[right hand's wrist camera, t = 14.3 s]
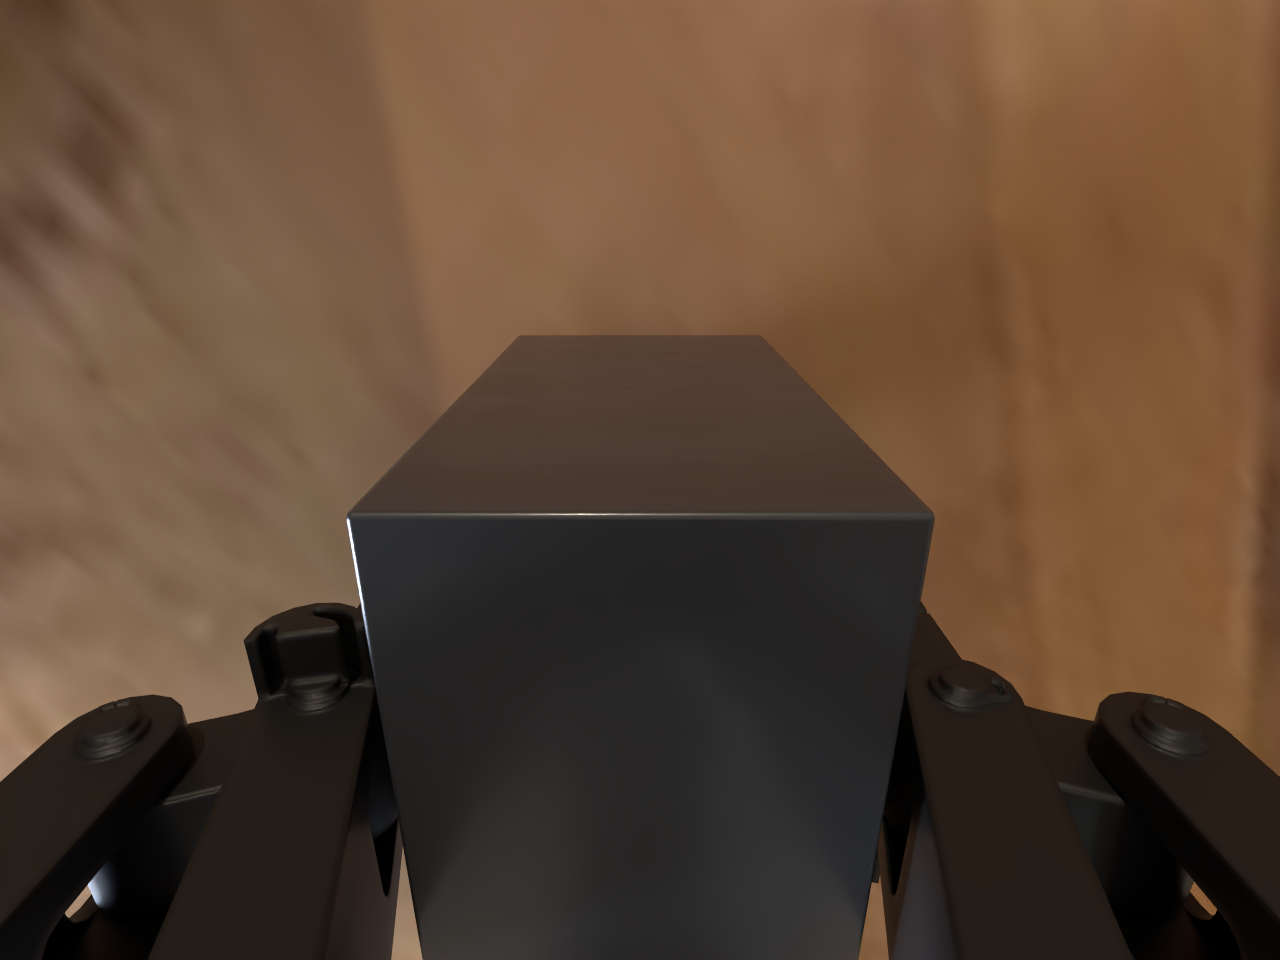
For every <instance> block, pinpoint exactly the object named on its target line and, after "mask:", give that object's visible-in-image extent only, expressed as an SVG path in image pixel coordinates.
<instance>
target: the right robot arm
mask: <svg viewBox="0 0 1280 960" xmlns="http://www.w3.org/2000/svg"><path fill="white" fill-rule="evenodd" d="M244 644H245V647H246V651H247V655H248V659H249V663H250V667H251V671H252V675H253V679H254V683H255V686H256V690H257V694H258V698H259V699H258V702H257V704H256V706H255V709H252V710H249V711H245V712H242V713H238V714H233V715H228V716H224V717H219V718H214V719H209V720H205V721H200V722H195V723H190V724H187V721H186V718H185V715H184V712H183V708H182V706H181V705H180V704H179V703H178V702H176V701H175V700H174V699H173V698H171V697H165V696H158V695H146V696H137V697H129V698H125V699H121V700H118V701H116V702H114V701H113V702H110V703H107V704H105V705H102V706H100V707H98V708H96V709H94V710H92V711H90V712H88V713H86V714H84V715H82V716H80V717H78V718H76V719H75V720H73V721H72V722H70V723H69V724H68V725H66V726H65V727H63V728H62V729H61V730H59V731H58V732H56V733H55V734H54V735H53V736H52V737H50V738H49V739H48V740H47V741H46V742H45V743H44V744H43V745H41V746H40V747H39V748H38V749H37V750H36V751H35V752H34V753H32V754H31V755H30V756H29V757H28V758H27V759H26V760H25V761H23V762H22V763H21V764H20V765H19V766H18V767H17V768H16V769H14V770H13V771H12V772H11V773H10V774H9V775H8V776H7V777H5V778H4V779H3V780H2V781H1V782H0V960H391V955H392V945H393V936H394V926H395V916H396V906H397V897H398V887H399V877H400V867H401V858H402V848H403V843H402V837H401V831H400V826H399V820H398V814H397V808H396V803H395V797H394V791H393V785H392V779H391V774H390V768H389V762H388V756H387V751H386V745H385V739H384V733H383V728H382V722H381V716H380V710H379V704H378V699H377V693H376V687H375V681H374V676H373V670H372V664H371V658H370V653H369V647H368V641H367V635H366V629H365V624H364V618H363V612H362V606H361V603H360V605H359V606H358V608H355V607H353V606H349V605H345V604H341V603H315V604H311V605H306V606H301V607H296V608H293V609H290V610H287V611H285V612H282V613H280V614H277V615H275V616H272V617H271V618H269V619H268V620H266V621H264V622H263V623H261V624H260V625H258V626H257V627H255V628H254V629H253V630H252V631H251V633H250V634H249V635H248V636H247V637H246V638H245V640H244ZM880 875H881V885H882V895H883V905H884V914H885V924H886V934H887V943H888V953H889V960H1280V777H1279V776H1278V775H1277V774H1276V773H1275V772H1274V771H1272V770H1271V769H1270V768H1269V767H1268V766H1267V765H1266V764H1264V763H1263V762H1262V761H1261V760H1260V759H1259V758H1258V757H1256V756H1255V755H1254V754H1253V753H1252V752H1251V751H1250V750H1249V749H1247V748H1246V747H1245V746H1244V745H1243V744H1242V743H1241V742H1239V741H1238V740H1237V739H1236V738H1235V737H1234V736H1233V735H1232V734H1230V733H1229V732H1228V731H1227V730H1226V729H1224V728H1223V727H1221V726H1220V725H1218V724H1217V723H1216V722H1214V721H1213V720H1211V719H1210V718H1209V717H1207V716H1206V715H1204V714H1202V713H1200V712H1198V711H1196V710H1194V709H1191V708H1189V707H1187V706H1185V705H1184V704H1182V703H1180V702H1177V701H1174V700H1171V699H1168V698H1167V699H1166V698H1164V697H1161V696H1156V695H1152V694H1144V693H1135V692H1124V693H1118V694H1111V695H1109V696H1108V697H1107V698H1105V699H1104V700H1103V701H1102V702H1100V704H1099V707H1098V710H1097V713H1096V717H1095V720H1094V721H1090V720H1085V719H1080V718H1075V717H1071V716H1066V715H1061V714H1056V713H1051V712H1047V711H1042V710H1039V709H1035V708H1031V707H1028V706H1025V705H1024V703H1023V700H1022V698H1021V697H1020V695H1019V694H1018V693H1017V691H1016V690H1015V688H1014V687H1013V686H1012V684H1011V683H1009V682H1008V681H1007V680H1005V679H1004V678H1003V677H1001V676H1000V675H998V674H997V673H996V672H994V671H992V670H990V669H988V668H985V667H983V666H981V665H979V664H976V663H974V662H970V661H966V660H962V659H961V658H960V656H959V655H958V653H957V652H956V651H955V649H954V648H953V646H952V645H951V643H950V642H949V641H948V639H947V638H946V636H945V635H944V634H943V632H942V631H941V629H940V628H939V627H938V625H937V624H936V622H935V621H934V619H933V618H932V617H931V615H930V614H927V610H926V608H925V607H924V605H923V604H922V603H921V601H920V606H919V612H918V618H917V623H916V629H915V635H914V641H913V646H912V652H911V658H910V664H909V669H908V675H907V681H906V687H905V692H904V698H903V704H902V710H901V716H900V721H899V727H898V733H897V739H896V744H895V750H894V756H893V762H892V767H891V773H890V779H889V785H888V790H887V796H886V802H885V808H884V814H883V819H882V825H881V831H880V837H879V842H878V848H877V854H876V860H875V865H874V871H873V877H872V882H874V883H878V881H879V876H880ZM1194 882H1195V883H1196V884H1197V885H1198V887H1199V888H1200V889H1201V890H1202V891H1203V893H1204V894H1205V895H1206V896H1207V897H1208V899H1209V900H1210V901H1211V902H1212V903H1213V905H1214V906H1215V907H1216V908H1217V909H1218V910H1217V912H1216V914H1215V915H1214V916H1212V915H1211V914H1209V913H1208V912H1207V911H1206V910H1205V909H1204V908H1203V907H1202V906H1201V905H1200V903H1199V902H1198V901H1197V900H1196V898H1195V897H1194V896H1193V895H1192V894H1191V892H1190V890H1191V888H1192V885H1193V883H1194ZM87 885H88V886H89V888H90V891H91V893H92V894H91V896H90V897H89V898H88V899H87V901H86V902H85V903H84V904H83V906H82V907H81V908H80V909H79V910H78V911H77V912H75V913H74V914H73V915H72V916H71V917H70V918H68V917H67V916H66V915H65V912H66V910H67V909H68V908H69V907H70V906H71V904H72V903H73V902H74V901H75V899H76V898H77V897H78V896H79V895H80V893H81V892H82V891H83V890H84V889H85V887H86V886H87Z"/></svg>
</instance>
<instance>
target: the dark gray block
mask: <svg viewBox="0 0 1280 960" xmlns="http://www.w3.org/2000/svg"><path fill="white" fill-rule="evenodd" d="M346 519H347V526H348V531H349V537H350V543H351V549H352V554H353V560H354V566H355V572H356V578H357V583H358V589H359V595H360V601H361V606H362V612H363V618H364V624H365V629H366V635H367V641H368V647H369V653H370V658H371V664H372V670H373V676H374V681H375V687H376V693H377V699H378V704H379V710H380V716H381V722H382V728H383V733H384V739H385V745H386V751H387V756H388V762H389V768H390V774H391V779H392V785H393V791H394V797H395V803H396V808H397V814H398V820H399V826H400V831H401V837H402V843H403V849H404V854H405V860H406V866H407V872H408V877H409V883H410V889H411V895H412V901H413V906H414V912H415V918H416V924H417V929H418V935H419V941H420V947H421V952H422V958H423V960H858V958H859V952H860V946H861V940H862V935H863V929H864V923H865V917H866V912H867V906H868V900H869V894H870V888H871V883H872V877H873V871H874V865H875V860H876V854H877V848H878V842H879V837H880V831H881V825H882V819H883V814H884V808H885V802H886V796H887V790H888V785H889V779H890V773H891V767H892V762H893V756H894V750H895V744H896V739H897V733H898V727H899V721H900V716H901V710H902V704H903V698H904V692H905V687H906V681H907V675H908V669H909V664H910V658H911V652H912V646H913V641H914V635H915V629H916V623H917V618H918V612H919V606H920V600H921V594H922V589H923V583H924V577H925V571H926V566H927V560H928V554H929V548H930V543H931V537H932V531H933V525H934V514H933V512H932V511H931V510H930V509H929V508H928V507H927V506H926V505H925V504H924V503H923V502H922V501H921V499H920V498H919V497H918V496H917V495H916V494H915V493H914V492H913V491H912V490H911V489H910V488H909V487H908V486H907V485H906V484H905V483H904V482H903V481H902V480H901V479H900V478H899V477H898V476H897V475H896V474H895V473H894V472H893V471H892V470H891V469H890V468H889V467H888V466H887V465H886V464H885V463H884V462H883V461H882V460H881V458H880V457H879V456H878V455H877V454H876V453H875V452H874V451H873V450H872V449H871V448H870V447H869V446H868V445H867V444H866V443H865V442H864V441H863V440H862V439H861V438H860V437H859V436H858V435H857V434H856V433H855V432H854V431H853V430H852V429H851V428H850V427H849V426H848V425H847V424H846V423H845V422H844V421H843V420H842V418H841V417H840V416H839V415H838V414H837V413H836V412H835V411H834V410H833V409H832V408H831V407H830V406H829V405H828V404H827V403H826V402H825V401H824V400H823V399H822V398H821V397H820V396H819V395H818V394H817V393H816V392H815V391H814V390H813V389H812V388H811V387H810V386H809V385H808V384H807V383H806V382H805V381H804V380H803V379H802V377H801V376H800V375H799V374H798V373H797V372H796V371H795V370H794V369H793V368H792V367H791V366H790V365H789V364H788V363H787V362H786V361H785V360H784V359H783V358H782V357H781V356H780V355H779V354H778V353H777V352H776V351H775V350H774V349H773V348H772V347H771V346H770V345H769V344H768V343H767V342H766V341H765V340H764V339H763V338H762V336H519V337H518V338H517V339H516V340H515V341H514V342H513V343H512V344H511V345H510V346H509V347H508V348H507V349H506V350H505V351H504V352H503V353H502V354H501V355H500V356H499V357H498V358H497V359H496V360H495V361H494V362H493V363H492V364H491V366H490V367H489V368H488V369H487V370H486V371H485V372H484V373H483V374H482V375H481V376H480V377H479V378H478V379H477V380H476V381H475V382H474V383H473V384H472V385H471V386H470V387H469V388H468V389H467V390H466V391H465V392H464V393H463V394H462V395H461V396H460V397H459V399H458V400H457V401H456V402H455V403H454V404H453V405H452V406H451V407H450V408H449V409H448V410H447V411H446V412H445V413H444V414H443V415H442V416H441V417H440V418H439V419H438V420H437V421H436V422H435V423H434V424H433V425H432V426H431V427H430V428H429V429H428V430H427V432H426V433H425V434H424V435H423V436H422V437H421V438H420V439H419V440H418V441H417V442H416V443H415V444H414V445H413V446H412V447H411V448H410V449H409V450H408V451H407V452H406V453H405V454H404V455H403V456H402V457H401V458H400V459H399V460H398V461H397V462H396V463H395V465H394V466H393V467H392V468H391V469H390V470H389V471H388V472H387V473H386V474H385V475H384V476H383V477H382V478H381V479H380V480H379V481H378V482H377V483H376V484H375V485H374V486H373V487H372V488H371V489H370V490H369V491H368V492H367V493H366V494H365V495H364V496H363V498H362V499H361V500H360V501H359V502H358V503H357V504H356V505H355V506H354V507H353V508H352V509H351V510H350V511H349V512H348V514H347V518H346Z"/></svg>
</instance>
